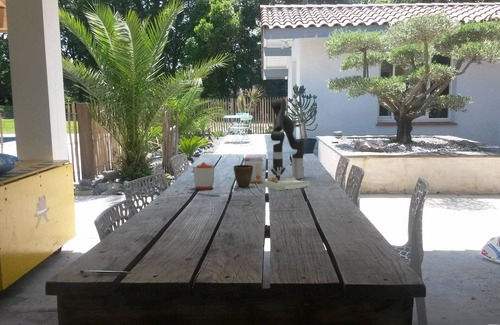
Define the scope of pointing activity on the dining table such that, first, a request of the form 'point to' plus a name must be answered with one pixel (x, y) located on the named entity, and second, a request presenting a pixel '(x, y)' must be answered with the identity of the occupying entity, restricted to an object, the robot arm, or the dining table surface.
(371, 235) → the dining table surface
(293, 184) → the box
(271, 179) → the block
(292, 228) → the dining table surface
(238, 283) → the dining table surface
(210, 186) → the citrus juicer
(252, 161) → the cracker box
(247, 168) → the plant pot
